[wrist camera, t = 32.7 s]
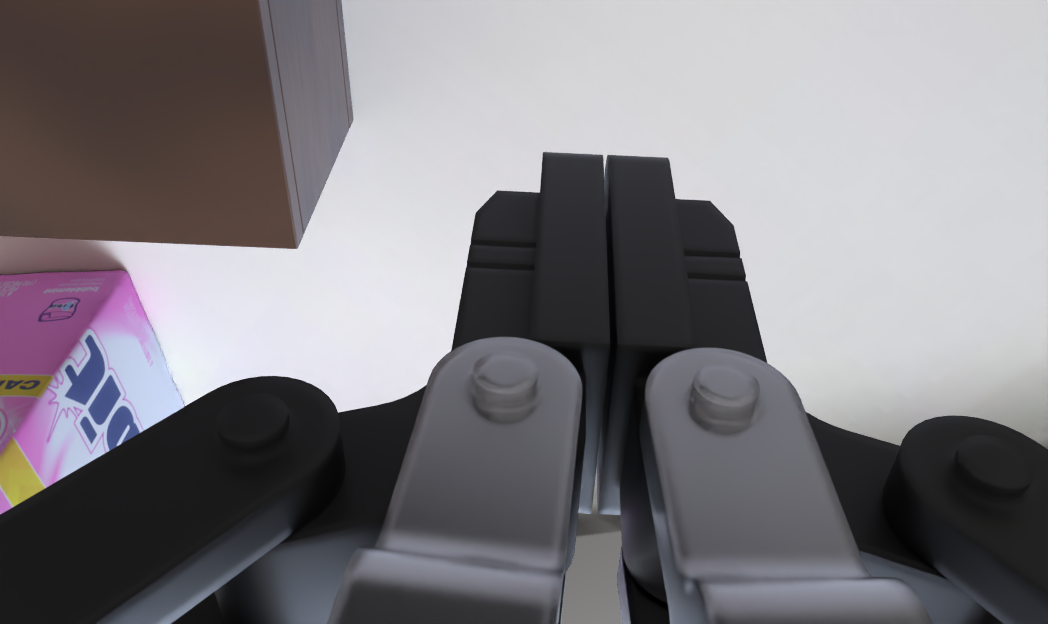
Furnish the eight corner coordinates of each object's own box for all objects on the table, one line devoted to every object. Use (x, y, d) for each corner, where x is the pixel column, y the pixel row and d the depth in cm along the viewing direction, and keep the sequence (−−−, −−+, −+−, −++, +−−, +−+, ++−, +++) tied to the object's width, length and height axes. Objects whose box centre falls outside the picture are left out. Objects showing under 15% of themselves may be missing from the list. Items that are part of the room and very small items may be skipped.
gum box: (258, 571, 57) (186, 790, 47) (139, 572, 58) (42, 789, 47) (128, 265, 43) (-20, 484, 32) (-29, 271, 43) (-225, 487, 33)
